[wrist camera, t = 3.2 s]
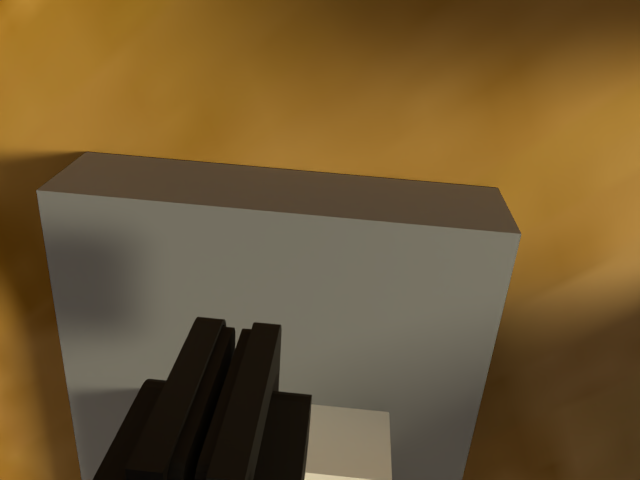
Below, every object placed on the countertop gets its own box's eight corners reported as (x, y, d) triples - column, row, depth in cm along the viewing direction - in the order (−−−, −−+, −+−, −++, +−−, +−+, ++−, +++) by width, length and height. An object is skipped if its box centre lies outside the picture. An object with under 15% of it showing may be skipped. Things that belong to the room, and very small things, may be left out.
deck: (86, 151, 18) (36, 190, 15) (498, 187, 17) (521, 233, 15) (128, 522, 25) (99, 592, 22) (419, 554, 25) (425, 629, 22)
